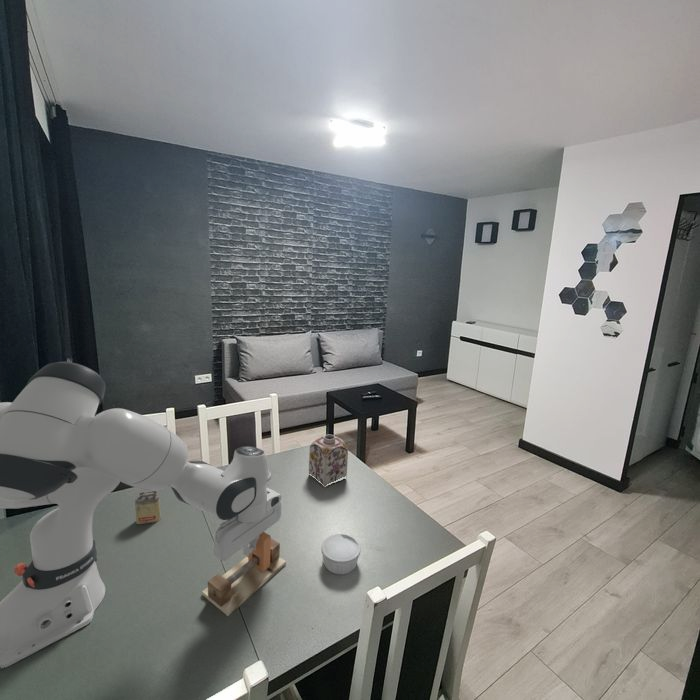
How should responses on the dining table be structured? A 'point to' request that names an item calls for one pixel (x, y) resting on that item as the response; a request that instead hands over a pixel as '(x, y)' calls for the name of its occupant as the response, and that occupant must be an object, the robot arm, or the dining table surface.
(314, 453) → the decorative jar
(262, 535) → the collar
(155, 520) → the lighter
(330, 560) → the ramekin
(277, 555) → the rod stand
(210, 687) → the dining table surface
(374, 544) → the dining table surface
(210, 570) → the dining table surface
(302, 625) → the dining table surface
